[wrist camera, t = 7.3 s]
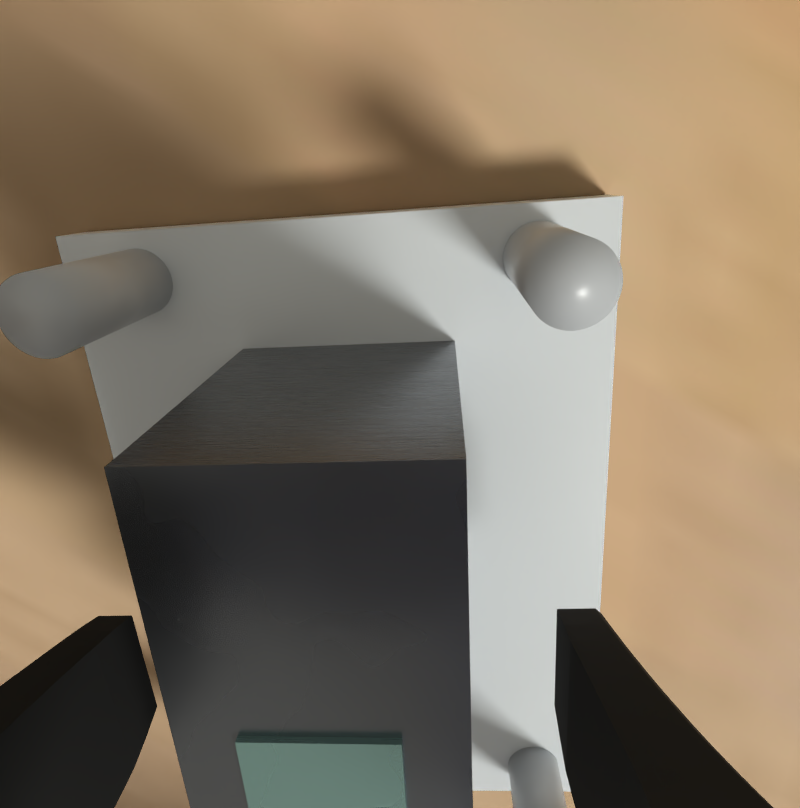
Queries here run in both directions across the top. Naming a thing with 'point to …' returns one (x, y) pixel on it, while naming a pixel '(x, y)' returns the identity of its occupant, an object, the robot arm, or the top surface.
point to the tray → (396, 323)
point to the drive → (309, 577)
